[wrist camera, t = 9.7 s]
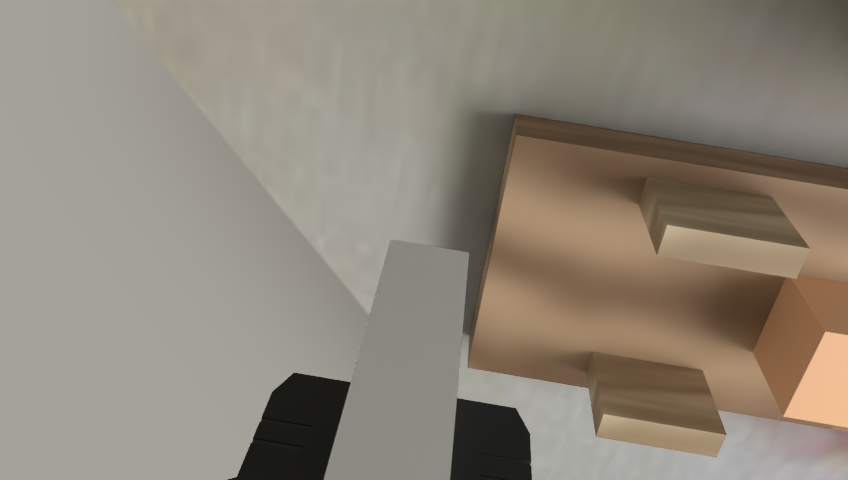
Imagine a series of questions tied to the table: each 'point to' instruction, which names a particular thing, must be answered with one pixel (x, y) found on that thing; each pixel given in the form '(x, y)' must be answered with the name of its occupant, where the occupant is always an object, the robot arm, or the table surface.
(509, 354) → the deck
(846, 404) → the block
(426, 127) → the table surface
